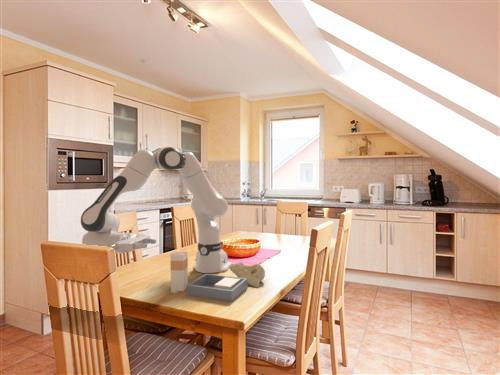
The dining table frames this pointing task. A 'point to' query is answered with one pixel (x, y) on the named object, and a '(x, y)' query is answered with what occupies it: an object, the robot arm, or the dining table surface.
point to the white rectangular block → (227, 283)
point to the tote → (207, 290)
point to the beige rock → (249, 273)
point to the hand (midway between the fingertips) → (151, 243)
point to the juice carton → (179, 271)
